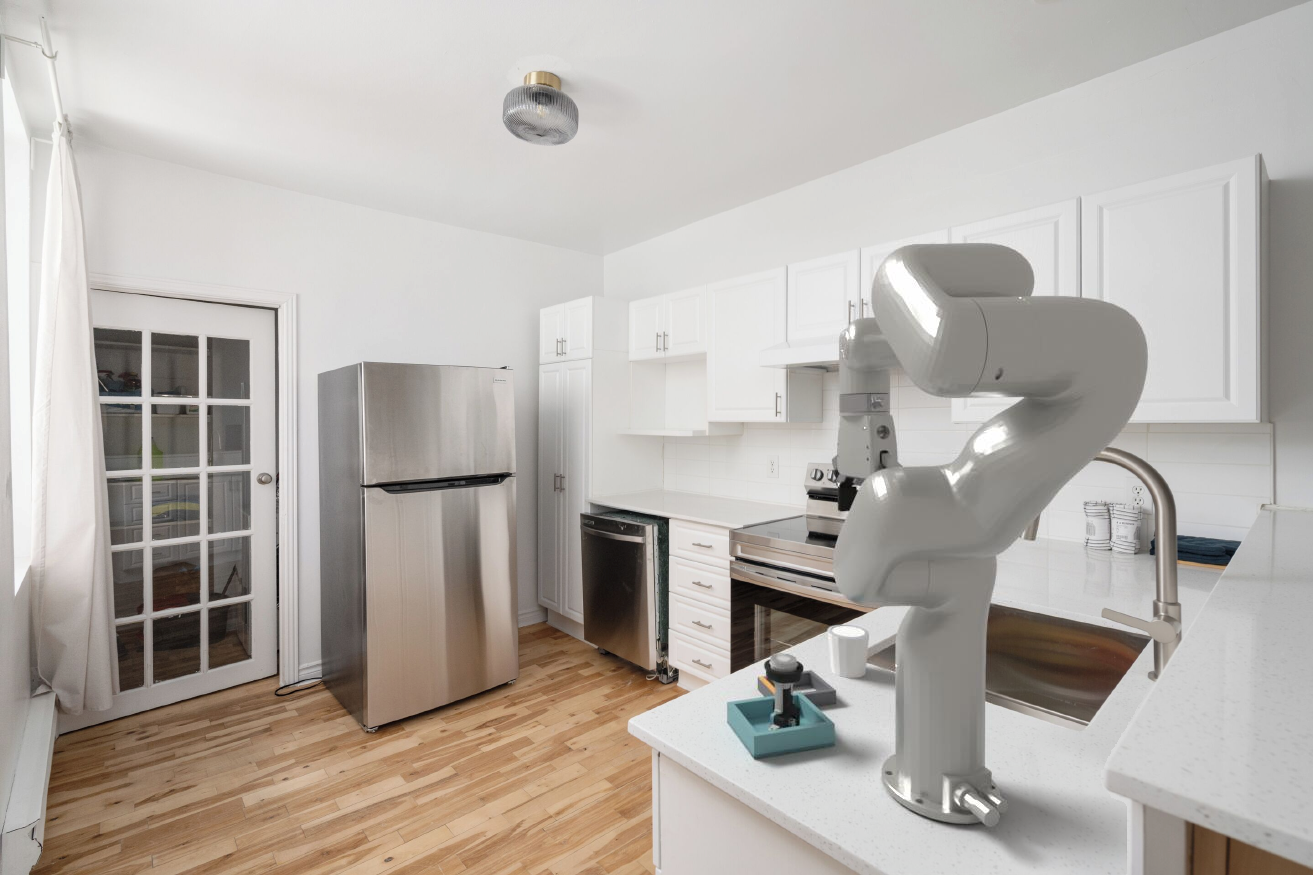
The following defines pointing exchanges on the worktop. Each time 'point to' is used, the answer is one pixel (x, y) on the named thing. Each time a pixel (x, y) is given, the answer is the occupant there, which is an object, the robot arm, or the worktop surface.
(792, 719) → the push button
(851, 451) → the robot arm
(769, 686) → the box
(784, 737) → the tray
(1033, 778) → the worktop surface
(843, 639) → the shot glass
